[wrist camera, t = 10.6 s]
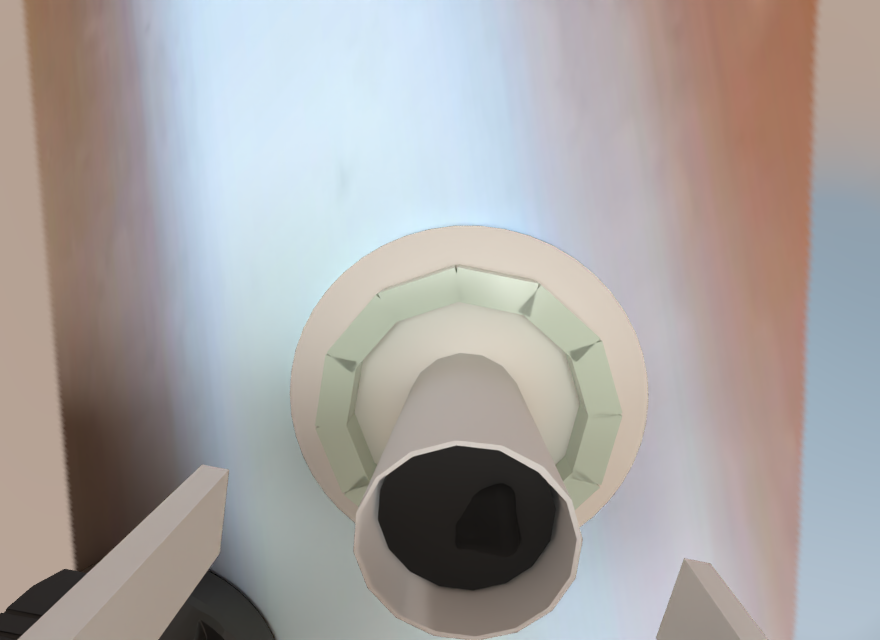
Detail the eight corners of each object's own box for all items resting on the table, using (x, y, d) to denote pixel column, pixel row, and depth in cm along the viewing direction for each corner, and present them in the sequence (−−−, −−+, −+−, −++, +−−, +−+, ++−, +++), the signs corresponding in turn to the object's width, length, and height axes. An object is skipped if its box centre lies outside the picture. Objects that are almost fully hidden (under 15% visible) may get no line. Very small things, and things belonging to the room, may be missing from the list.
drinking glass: (527, 338, 22) (578, 431, 12) (535, 463, 23) (586, 637, 14) (391, 349, 23) (336, 448, 13) (407, 471, 24) (368, 645, 14)
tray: (279, 511, 26) (258, 544, 23) (322, 192, 22) (303, 188, 20) (587, 575, 26) (601, 617, 23) (684, 265, 22) (715, 271, 19)
